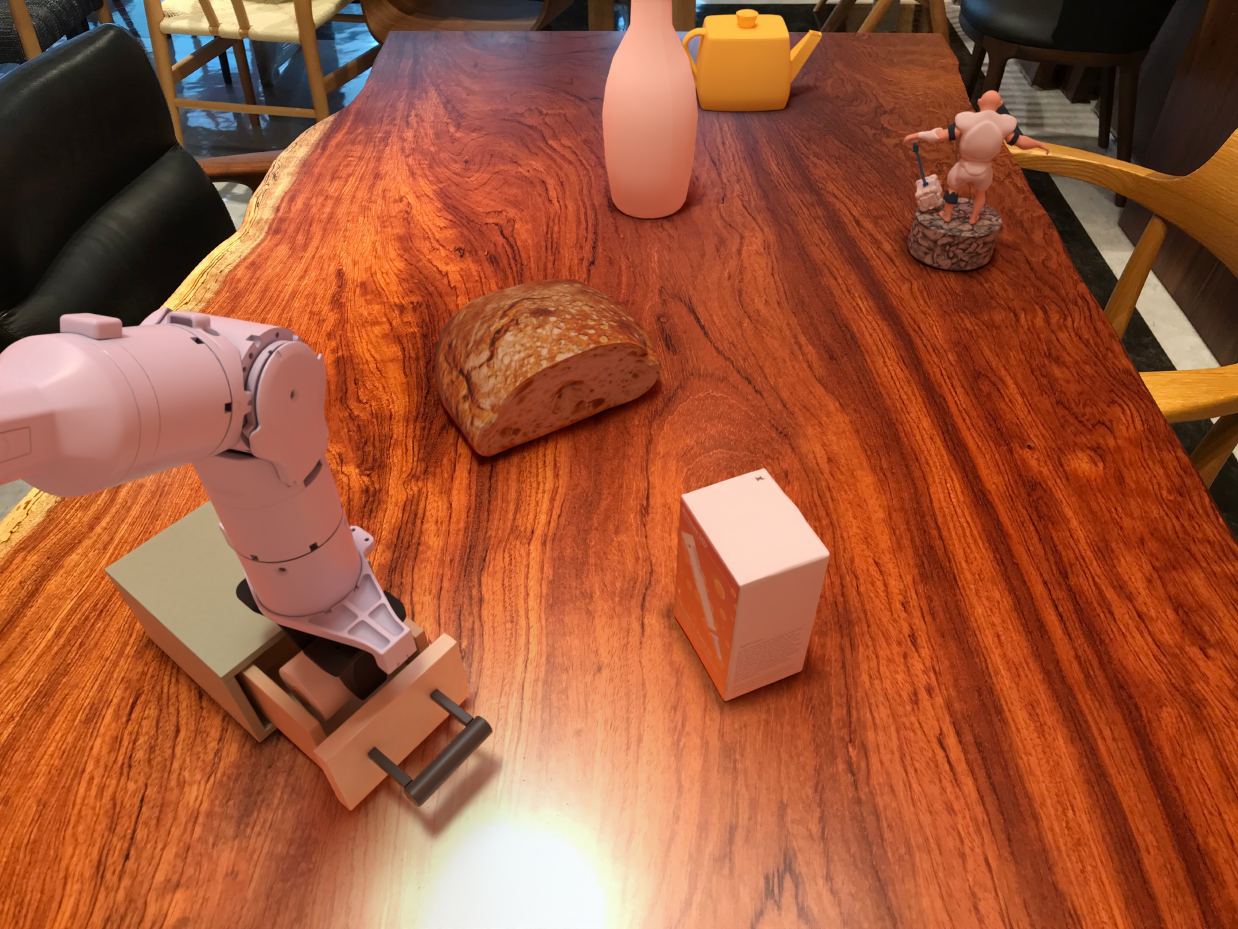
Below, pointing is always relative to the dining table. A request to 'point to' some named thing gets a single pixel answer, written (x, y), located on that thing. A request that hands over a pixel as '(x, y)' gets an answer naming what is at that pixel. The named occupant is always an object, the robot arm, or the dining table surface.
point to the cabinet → (199, 609)
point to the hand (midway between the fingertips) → (346, 666)
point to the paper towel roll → (314, 687)
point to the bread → (539, 361)
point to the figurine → (950, 223)
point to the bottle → (650, 115)
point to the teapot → (746, 61)
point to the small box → (747, 581)
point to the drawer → (375, 719)
